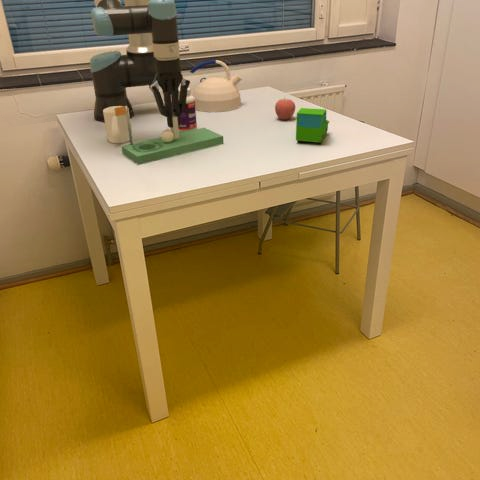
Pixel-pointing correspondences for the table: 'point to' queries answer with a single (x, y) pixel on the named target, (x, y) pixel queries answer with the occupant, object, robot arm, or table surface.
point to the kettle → (217, 91)
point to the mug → (116, 126)
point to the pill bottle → (188, 114)
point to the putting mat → (171, 145)
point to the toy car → (311, 125)
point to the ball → (167, 136)
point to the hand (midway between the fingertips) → (175, 136)
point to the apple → (285, 108)
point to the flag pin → (124, 111)
